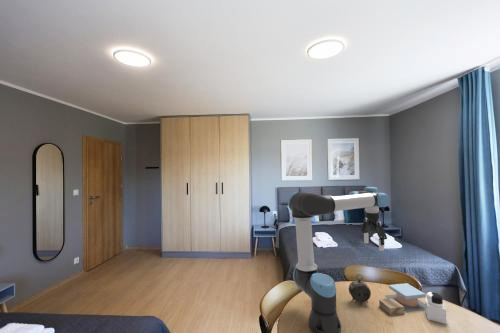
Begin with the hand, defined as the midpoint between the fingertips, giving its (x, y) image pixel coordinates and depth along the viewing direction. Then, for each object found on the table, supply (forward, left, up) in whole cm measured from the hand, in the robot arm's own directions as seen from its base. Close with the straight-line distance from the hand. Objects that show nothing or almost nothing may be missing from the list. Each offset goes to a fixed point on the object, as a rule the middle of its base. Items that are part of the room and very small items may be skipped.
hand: (373, 246), depth 134 cm
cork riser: (-3, -16, -29) cm, 33 cm away
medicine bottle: (+14, -25, -29) cm, 41 cm away
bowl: (+11, -11, -28) cm, 32 cm away
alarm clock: (-15, -7, -29) cm, 33 cm away
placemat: (+11, -11, -29) cm, 33 cm away
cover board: (+11, -11, -23) cm, 28 cm away
